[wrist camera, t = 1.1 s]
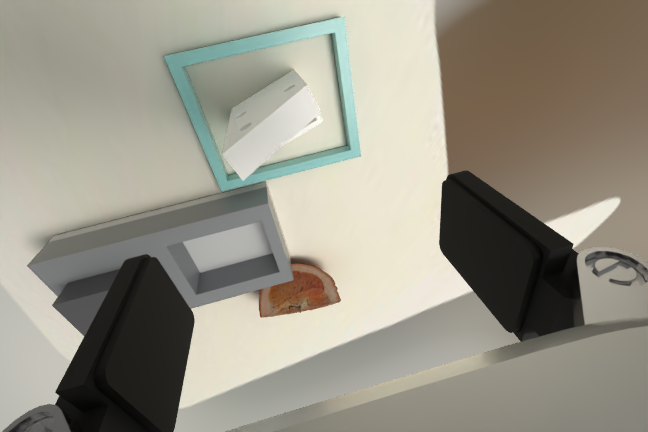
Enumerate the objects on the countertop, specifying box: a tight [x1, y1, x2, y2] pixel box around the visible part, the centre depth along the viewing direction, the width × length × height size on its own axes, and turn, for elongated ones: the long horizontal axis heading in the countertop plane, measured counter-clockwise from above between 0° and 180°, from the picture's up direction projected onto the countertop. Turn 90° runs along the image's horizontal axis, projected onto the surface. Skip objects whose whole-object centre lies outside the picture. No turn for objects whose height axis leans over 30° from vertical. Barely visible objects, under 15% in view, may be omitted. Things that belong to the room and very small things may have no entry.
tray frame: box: [164, 17, 361, 192], centre depth 24 cm, size 11×13×1 cm
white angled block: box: [222, 70, 323, 181], centre depth 22 cm, size 4×10×9 cm
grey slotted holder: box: [27, 182, 294, 336], centre depth 27 cm, size 9×19×6 cm, turn 100°
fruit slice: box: [259, 263, 341, 317], centre depth 33 cm, size 8×7×5 cm
